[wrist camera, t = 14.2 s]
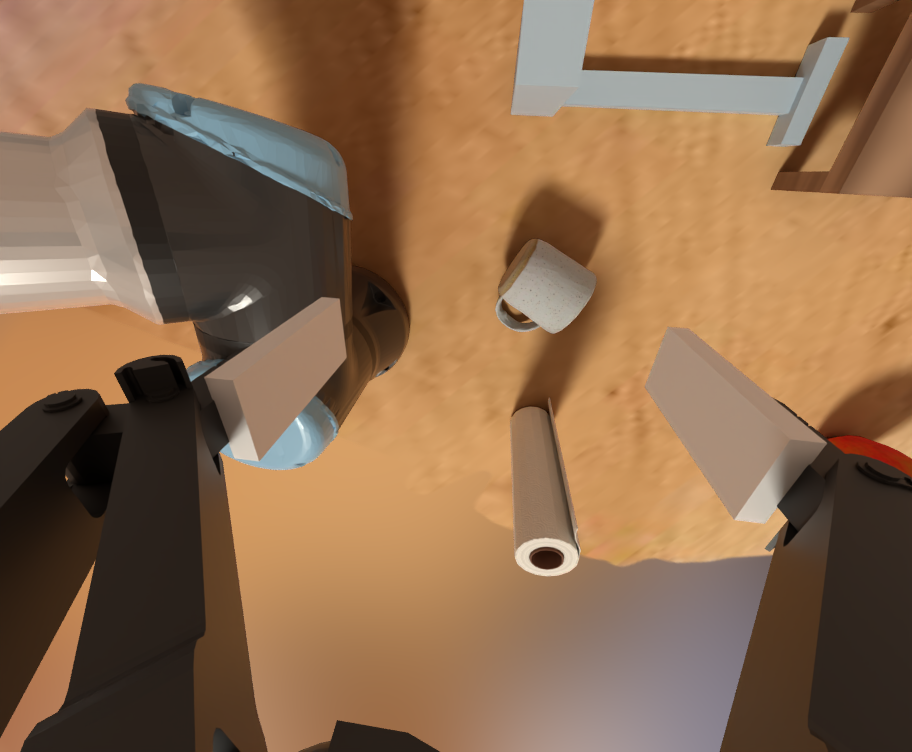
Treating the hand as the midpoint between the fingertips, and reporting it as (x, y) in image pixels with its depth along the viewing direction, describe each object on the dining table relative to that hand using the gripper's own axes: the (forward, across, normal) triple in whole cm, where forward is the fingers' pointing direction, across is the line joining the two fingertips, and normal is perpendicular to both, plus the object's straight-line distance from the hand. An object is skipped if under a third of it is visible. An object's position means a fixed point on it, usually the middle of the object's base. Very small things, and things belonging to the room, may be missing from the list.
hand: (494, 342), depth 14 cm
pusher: (+29, -13, -13) cm, 34 cm away
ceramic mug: (+29, -5, +6) cm, 30 cm away
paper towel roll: (+29, -8, +25) cm, 39 cm away
